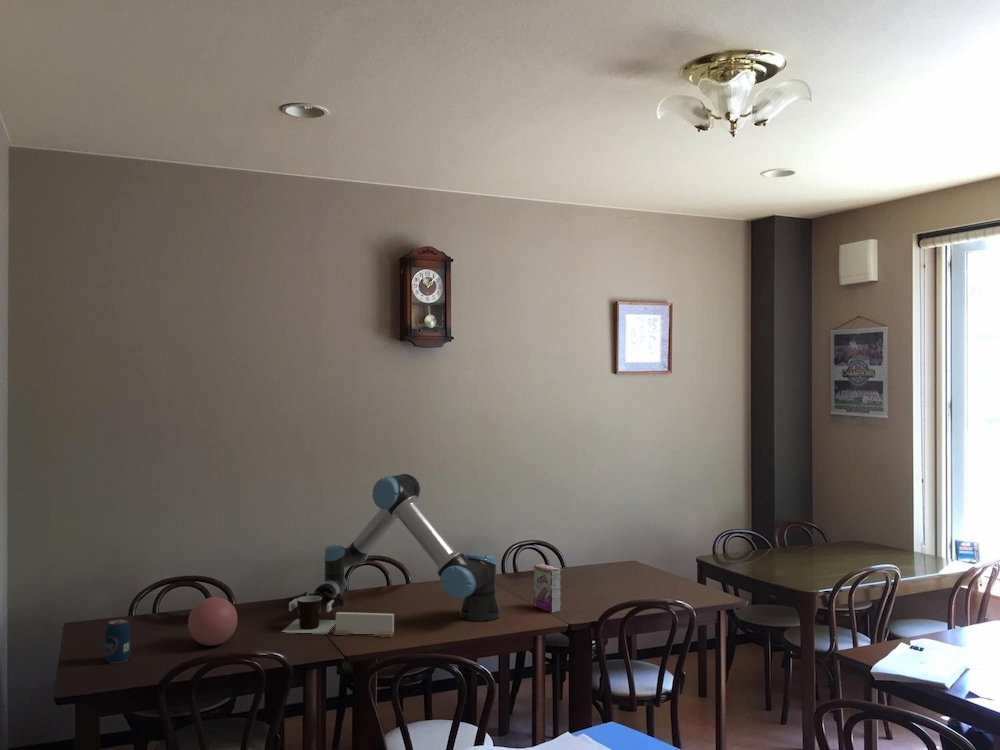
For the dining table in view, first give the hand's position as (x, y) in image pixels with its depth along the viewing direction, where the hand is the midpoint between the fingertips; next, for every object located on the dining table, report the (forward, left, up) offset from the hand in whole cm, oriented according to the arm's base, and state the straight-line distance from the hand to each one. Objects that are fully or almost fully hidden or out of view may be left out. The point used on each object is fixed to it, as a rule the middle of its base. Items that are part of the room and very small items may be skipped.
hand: (308, 607), depth 285 cm
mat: (0, -3, -7) cm, 8 cm away
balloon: (+27, +18, -8) cm, 34 cm away
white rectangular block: (-21, +3, -7) cm, 23 cm away
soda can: (+48, +38, -8) cm, 62 cm away
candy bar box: (-83, -36, -8) cm, 91 cm away
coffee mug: (0, -3, -7) cm, 8 cm away
